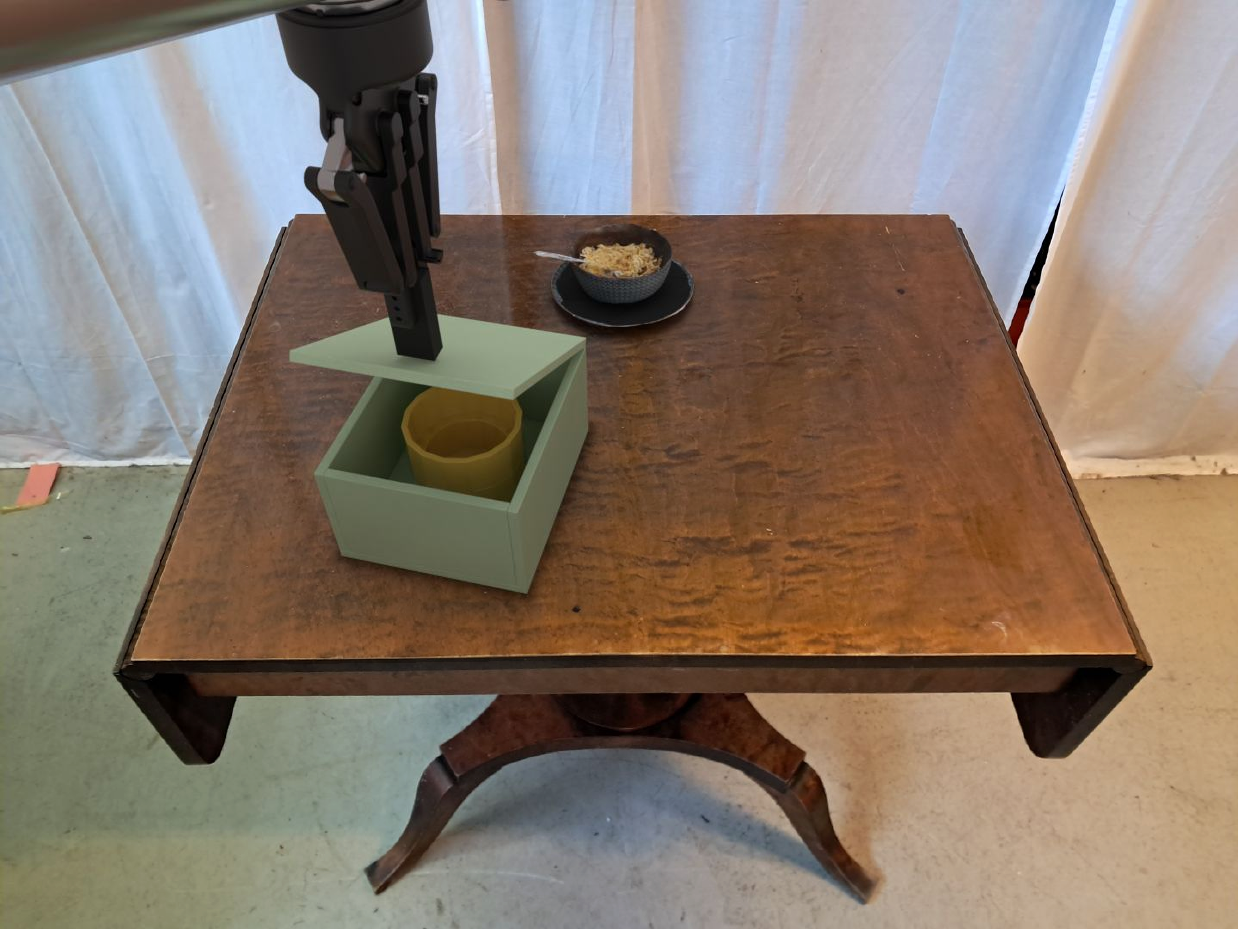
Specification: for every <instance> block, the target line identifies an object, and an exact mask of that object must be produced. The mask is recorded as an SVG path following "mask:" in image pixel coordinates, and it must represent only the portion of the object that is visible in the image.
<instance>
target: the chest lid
mask: <svg viewBox="0 0 1238 929" xmlns="http://www.w3.org/2000/svg"><path fill="white" fill-rule="evenodd" d="M437 316H438V322H439V327H440V333H441V339H442V345H443V348H442V350H441V352H440V353H439V355H438V357H437V359H436V360H435V361H431V360H425V359H419V358H413V357H407V356H401V355H397V351H396V347H395V342H394V338H393V333H392V329H391V324H390V321H389V316H387V317H385V318H382V319H379V320H376V321H373V322H370V323H367V324H364V325H360V326H358V327H355V328H352V329H350V330H346V331H344V332H341V333H337V334H333V335H332V336H331V335H330V336H329V337H325V338H323V339H319V340H317V341H314V342H311V343H308V344H305V345H302V346H299V347H296V348H293V349H290V350H289V359H288V360H289V362H290V363H295V364H300V365H307V366H312V367H318V368H323V369H330V370H336V371H341V372H347V373H351V374H352V373H353V374H359V375H365V376H371V377H381V378H387V379H393V380H399V381H405V382H410V383H416V384H422V385H428V386H434V387H440V388H445V389H451V390H457V391H463V392H469V393H475V394H480V395H486V396H492V397H498V398H504V399H510V400H514V399H515V398H516V397H518V396H519V395H520V394H522V393H523V392H524V391H526V390H527V389H528V388H530V387H531V386H533V385H534V384H535V383H537V382H538V381H539V380H541V379H542V378H543V377H545V376H546V375H547V374H549V373H550V372H552V371H553V370H554V369H556V368H557V367H558V366H560V365H561V364H562V363H564V362H565V361H566V360H568V359H569V358H571V357H572V356H573V355H575V354H576V353H577V352H579V351H580V350H581V349H583V348H584V347H586V346H587V338H586V337H584V336H578V335H572V334H567V333H560V332H555V331H546V330H541V329H533V328H528V327H521V326H515V325H509V324H504V323H503V324H502V323H495V322H490V321H483V320H478V319H471V318H466V317H465V318H464V317H458V316H452V315H445V314H440V313H437Z"/></svg>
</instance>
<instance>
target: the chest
mask: <svg viewBox="0 0 1238 929" xmlns="http://www.w3.org/2000/svg"><path fill="white" fill-rule="evenodd" d="M587 366H588V364H587V347H586V346H585V347H584V348H583V349H581V350H580V351H579V352H577V353H576V354H575V355H573V356H572V357H571V358H569V359H568V360H566V361H565V362H564V363H562V364H561V365H560V366H558V367H557V368H556V369H554V370H553V371H552V372H550V373H549V374H547V375H546V376H545V377H543V378H542V379H541V380H539V381H538V382H537V383H535V384H534V385H533V386H531V387H530V388H528V389H527V390H526V391H524V392H523V393H522V394H520V395H519V396H518V397H516V399H517V401H518V403H519V406H520V408H521V410H522V413H523V423H524V433H525V443H526V453H527V465H526V468H525V470H524V472H523V475H522V477H521V479H520V482H519V484H518V487H517V489H516V491H515V494H514V496H513V498H512V501H511V503H508V502H502V501H497V500H492V499H487V498H481V497H476V496H471V495H466V494H460V493H455V492H450V491H444V490H439V489H434V488H429V487H423V486H418V485H415V484H414V480H413V476H412V471H411V467H410V463H409V459H408V454H407V450H406V446H405V442H404V437H403V433H402V429H401V425H402V421H403V417H404V413H405V410H406V409H407V407H408V406H409V405H410V404H411V403H412V401H413V400H414V399H415V398H416V397H417V396H418V395H419V394H421V393H423V392H424V391H426V390H428V389H430V388H431V387H433V386H428V385H422V384H416V383H410V382H405V381H399V380H393V379H387V378H381V377H375V376H373V378H372V380H371V382H370V383H369V384H368V386H367V388H366V389H365V391H364V393H363V394H362V395H361V397H360V399H359V400H358V402H357V404H356V405H355V406H354V408H353V410H352V412H351V413H350V415H349V416H348V418H347V419H346V421H345V423H344V424H343V426H342V427H341V429H340V431H339V432H338V434H337V435H336V437H335V438H334V441H333V442H332V443H331V445H330V447H329V448H328V450H327V452H326V453H325V455H324V456H323V458H322V460H321V461H320V463H319V464H318V465H317V467H316V469H315V470H314V472H313V477H314V480H315V483H316V485H317V489H318V491H319V494H320V497H321V500H322V503H323V506H324V508H325V511H326V514H327V517H328V520H329V523H330V525H331V526H330V527H331V528H332V531H333V534H334V537H335V540H336V543H337V545H338V549H339V552H340V555H341V557H346V558H350V559H355V560H361V561H364V562H369V563H376V564H379V565H385V566H388V567H389V566H390V567H394V568H398V569H403V570H408V571H414V572H419V573H424V574H428V575H433V576H439V577H443V578H448V579H452V580H458V581H463V582H468V583H473V584H478V585H482V586H487V587H492V588H495V589H496V588H497V589H501V590H505V591H510V592H511V591H512V592H515V593H521V594H525V595H527V594H528V592H529V590H530V587H531V585H532V582H533V579H534V577H535V573H536V571H537V569H538V566H539V563H540V561H541V558H542V555H543V552H544V550H545V547H546V544H547V542H548V540H549V537H550V534H551V532H552V530H553V529H552V528H553V526H554V524H555V520H556V518H557V515H558V512H559V509H560V507H561V504H562V502H563V499H564V497H565V494H566V491H567V489H568V486H569V483H570V480H571V478H572V475H573V473H574V472H573V471H574V470H575V467H576V464H577V462H578V459H579V457H580V454H581V451H582V448H583V446H584V443H585V441H586V438H587V436H588V432H589V402H588V401H589V399H588V372H587V371H588V370H587V369H588V368H587Z"/></svg>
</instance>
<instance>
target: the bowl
mask: <svg viewBox="0 0 1238 929" xmlns="http://www.w3.org/2000/svg"><path fill="white" fill-rule="evenodd" d="M401 429H402V433H403V437H404V442H405V446H406V450H407V454H408V459H409V463H410V467H411V471H412V476H413V480H414V484H415V485H418V486H423V487H429V488H434V489H439V490H444V491H450V492H455V493H460V494H466V495H471V496H476V497H481V498H487V499H492V500H497V501H502V502H508V503H511V501H512V498H513V496H514V494H515V491H516V489H517V487H518V484H519V482H520V479H521V477H522V475H523V472H524V470H525V468H526V465H527V453H526V443H525V433H524V423H523V413H522V410H521V408H520V406H519V403H518V401H517V399H516V398H515V399H514V400H510V399H504V398H498V397H492V396H486V395H480V394H475V393H469V392H463V391H457V390H451V389H445V388H440V387H434V386H433V387H431V388H430V389H428V390H426V391H424V392H423V393H421V394H419V395H418V396H417V397H416V398H415V399H414V400H413V401H412V403H411V404H410V405H409V406H408V407H407V409H406V410H405V413H404V417H403V421H402V425H401Z"/></svg>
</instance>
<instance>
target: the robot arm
mask: <svg viewBox="0 0 1238 929" xmlns="http://www.w3.org/2000/svg"><path fill="white" fill-rule="evenodd" d="M498 1H501V2H509V0H498ZM429 12H430V11H429V6H428V0H0V87H3V86H7V85H10V84H15V83H19V82H22V81H26V80H29V79H34V78H37V77H41V76H46V75H49V74H53V73H56V72H60V71H64V70H67V69H71V68H75V67H79V66H83V65H86V64H87V65H88V64H92V63H95V62H98V61H101V60H102V61H103V60H107V59H109V58H114V57H117V56H121V55H126V54H129V53H132V52H135V51H136V52H137V51H140V50H144V49H147V48H151V47H156V46H159V45H162V44H166V43H170V42H174V41H178V40H181V39H186V38H190V37H193V36H196V35H201V34H204V33H208V32H212V31H216V30H220V29H222V28H227V27H231V26H236V25H238V24H243V23H246V22H249V21H253V20H258V19H261V18H265V17H269V16H273V15H274V16H275V20H276V25H277V28H278V33H279V36H280V40H281V44H282V48H283V51H284V55H285V59H286V63H287V66H288V68H289V70H290V71H291V72H292V73H293V75H294V76H295V77H296V78H298V79H299V80H300V81H302V82H303V83H304V84H305V85H307V86H308V87H309V88H310V89H311V90H312V91H313V92H314V93H315V94H316V96H317V98H318V108H319V109H318V110H319V111H318V112H319V116H318V117H319V118H318V119H319V122H318V123H319V124H318V125H319V130H320V134H321V137H322V138H323V140H324V141H325V143H326V144H327V145H326V150H325V153H324V157H323V160H322V165H321V167H320V166H313V165H308V166H307V167H306V168H305V170H304V173H303V183H304V184H303V185H304V186H305V188H306V190H308V192H309V193H311V195H312V196H313V197H314V198H315V199H316V200H317V201H318V202H319V203H320V204H321V207H322V209H323V211H324V213H325V215H326V218H327V219H328V223H329V224H330V226H331V229H332V231H333V233H334V236H335V238H336V240H337V242H338V244H339V247H340V249H341V252H342V254H343V256H344V258H345V261H346V263H347V265H348V267H349V269H350V271H351V274H352V276H353V278H354V281H355V283H356V285H357V288H358V289H359V291H363V292H370V293H376V294H383V298H384V302H385V306H386V311H387V317H389V321H390V324H391V329H392V333H393V338H394V342H395V347H396V351H397V355H401V356H407V357H413V358H419V359H425V360H431V361H435V360H436V359H437V357H438V355H439V353H440V352H441V350H442V348H443V345H442V339H441V333H440V327H439V322H438V316H437V314H438V311H437V305H436V300H435V293H434V288H433V282H432V275H431V270H430V267H429V265H428V264H432V265H438V266H439V265H441V264H442V262H443V259H444V249H443V248H442V249H441V248H435V247H432V246H433V245H432V240H431V239H438V238H439V237H440V235H441V233H442V232H441V231H442V226H441V224H442V223H441V205H440V204H441V202H440V182H439V166H438V164H439V163H438V143H437V141H438V140H437V125H436V123H437V122H436V111H437V110H436V109H437V99H438V98H437V97H438V85H439V84H438V77H437V74H435V73H431V72H424V70H425V69H426V68H427V67H428V65H429V64H430V62H431V61H432V59H433V55H434V39H433V33H432V26H431V19H430V13H429Z"/></svg>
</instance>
